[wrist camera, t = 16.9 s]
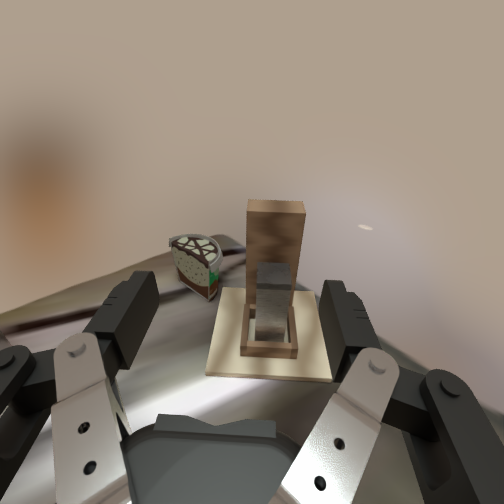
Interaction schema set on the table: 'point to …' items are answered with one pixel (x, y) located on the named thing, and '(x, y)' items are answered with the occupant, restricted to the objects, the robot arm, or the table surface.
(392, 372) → the robot arm
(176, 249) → the food container
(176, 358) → the table surface
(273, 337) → the grey rectangular block
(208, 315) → the table surface
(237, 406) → the table surface
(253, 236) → the wooden backboard stand
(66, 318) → the table surface
